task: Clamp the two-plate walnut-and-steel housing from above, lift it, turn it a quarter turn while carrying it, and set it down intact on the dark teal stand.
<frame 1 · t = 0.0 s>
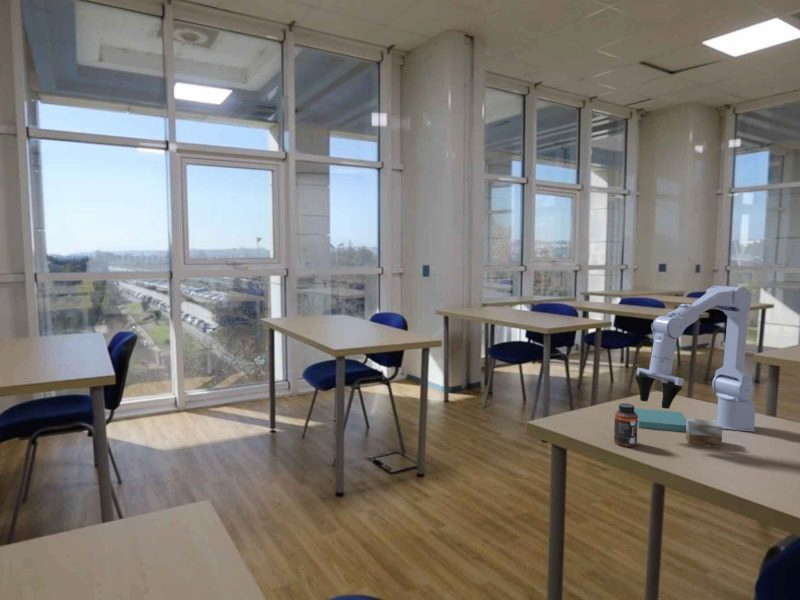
hand: (654, 404, 149), 11 cm above the table, tool pointing down, fingers open, 7 cm apart
supplement bottle: (625, 444, 147), on the table
teal stand: (660, 422, 165), on the table
housing: (703, 442, 148), on the table
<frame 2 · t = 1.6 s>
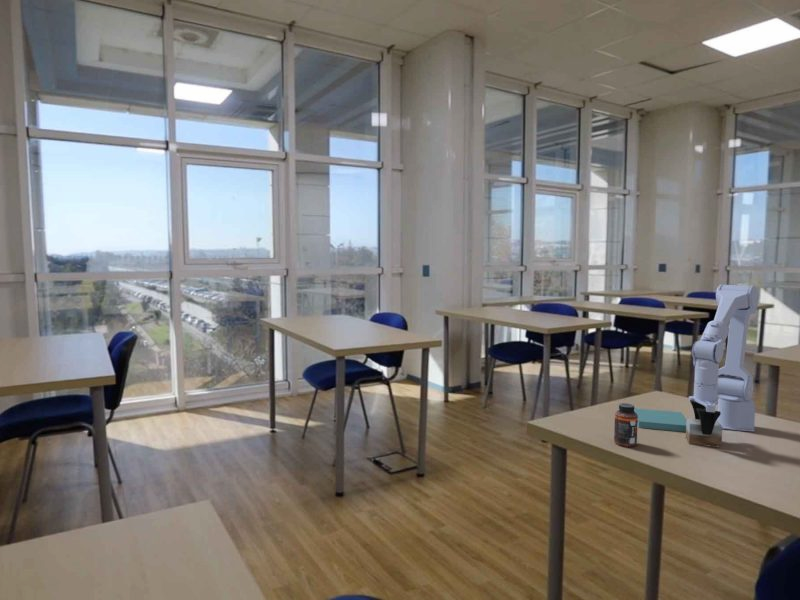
hand: (703, 429, 147), 4 cm above the table, tool pointing down, fingers open, 7 cm apart
nothing on the table moved.
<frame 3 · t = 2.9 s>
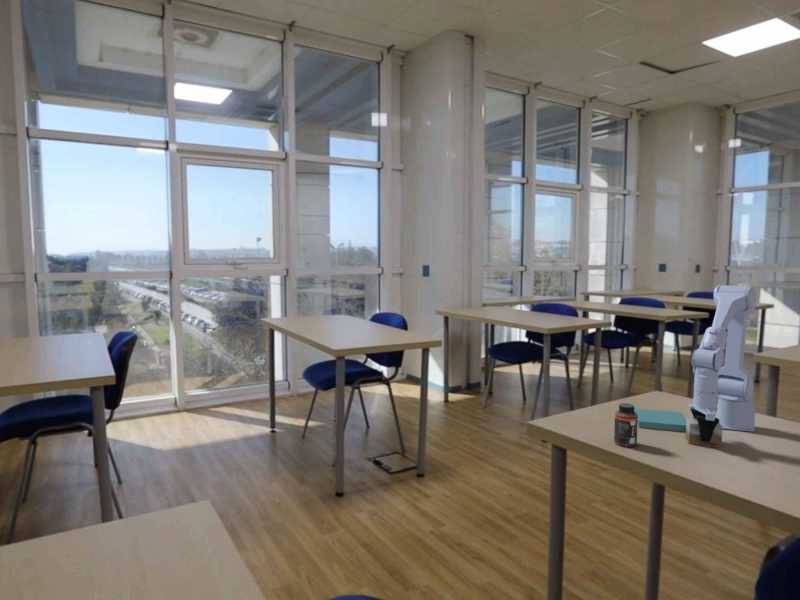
hand: (703, 437, 148), 1 cm above the table, tool pointing down, fingers closed on housing, 5 cm apart
housing: (703, 442, 148), on the table, touching gripper
everything else where it was.
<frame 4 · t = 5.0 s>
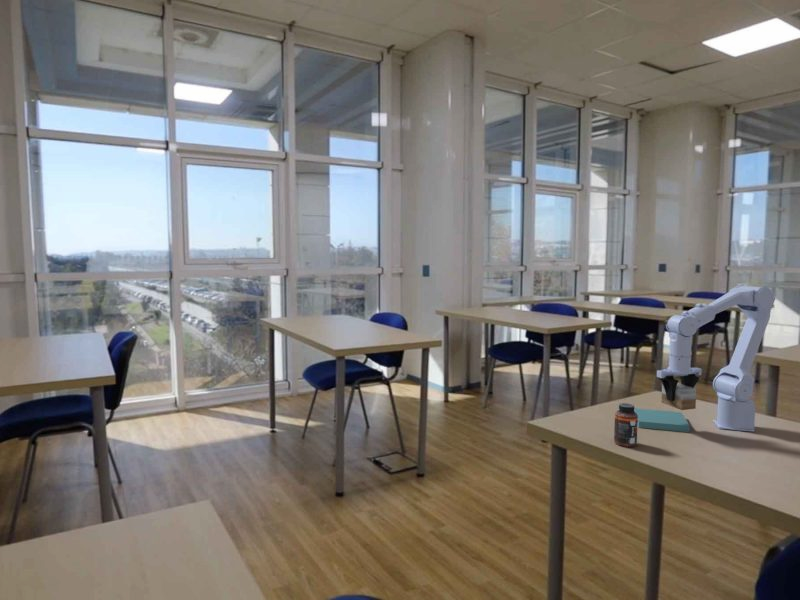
hand: (678, 399, 157), 10 cm above the table, tool pointing down, fingers closed on housing, 5 cm apart
housing: (678, 405, 157), point 8 cm above the table, touching gripper
everything else where it was.
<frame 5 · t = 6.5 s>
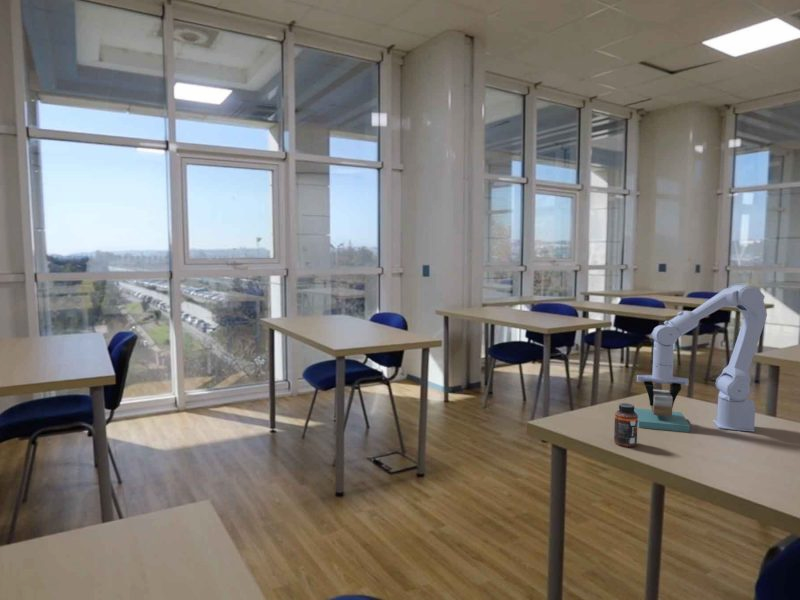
hand: (661, 405, 164), 6 cm above the table, tool pointing down, fingers closed on housing, 5 cm apart
housing: (660, 411, 164), point 4 cm above the table, touching gripper
everything else where it was.
when the fingers open (5 cm above the table, at t = 7.6 s): housing stays where it is, resting on teal stand.
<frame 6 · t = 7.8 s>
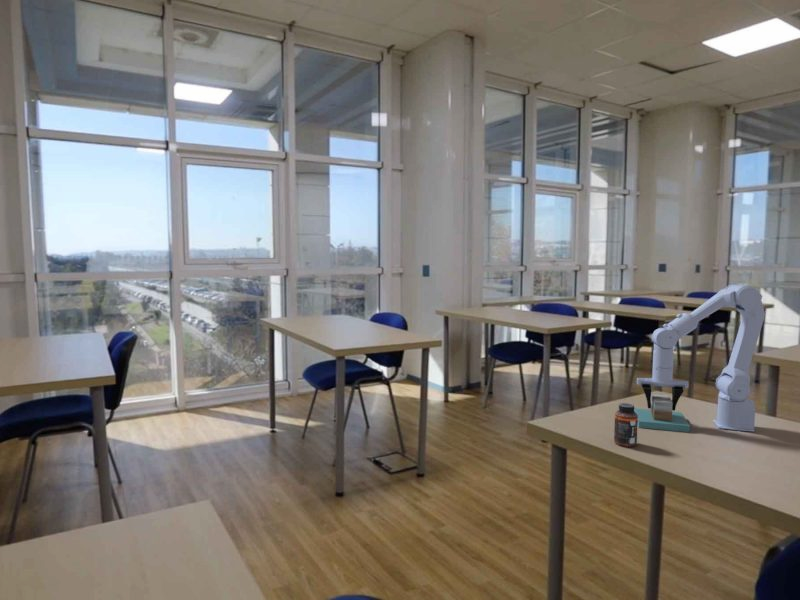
hand: (661, 408, 164), 5 cm above the table, tool pointing down, fingers open, 6 cm apart
housing: (660, 416, 165), point 2 cm above the table, touching teal stand
everything else where it was.
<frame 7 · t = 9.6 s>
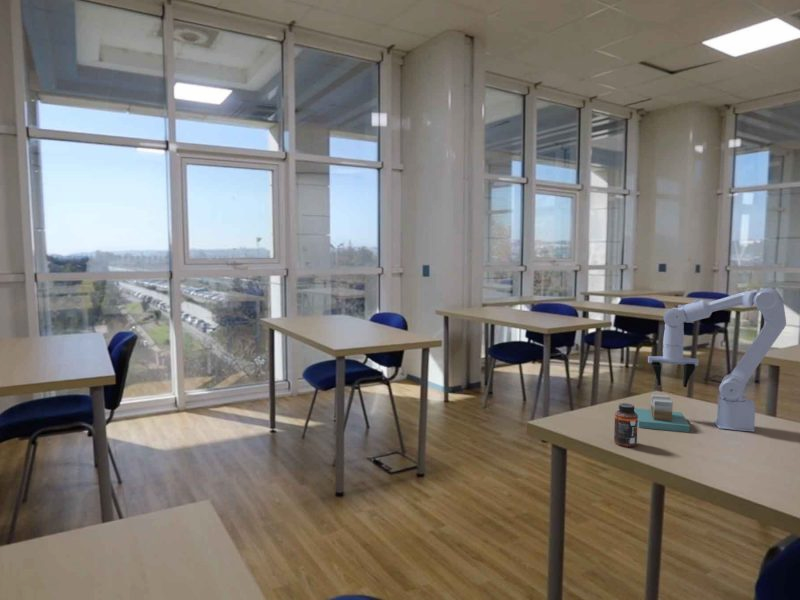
hand: (671, 385, 170), 10 cm above the table, tool pointing down, fingers open, 7 cm apart
nothing on the table moved.
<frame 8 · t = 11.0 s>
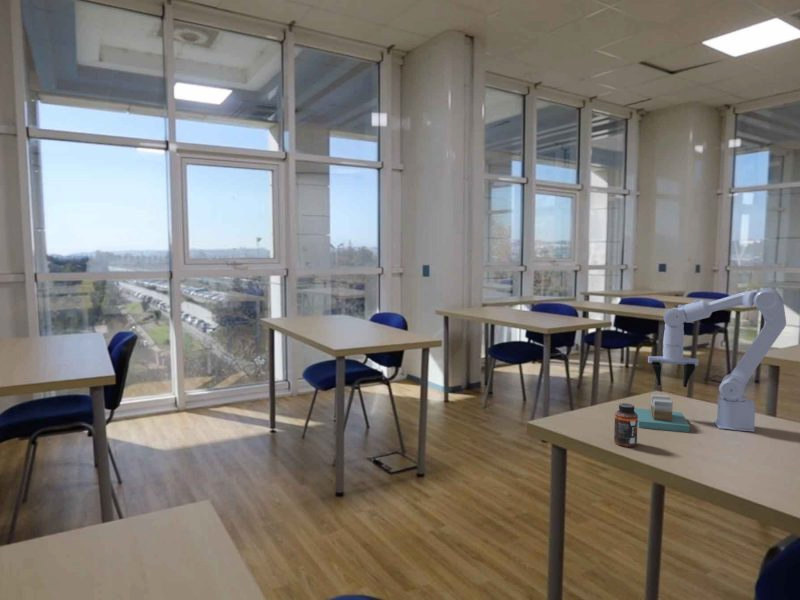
hand: (671, 385, 170), 10 cm above the table, tool pointing down, fingers open, 7 cm apart
nothing on the table moved.
at the end: housing inside the target area on the teal stand (0.1 cm from its centre), point 2.0 cm above the teal stand's base; housing tilted 0°; the gripper is holding nothing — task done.
